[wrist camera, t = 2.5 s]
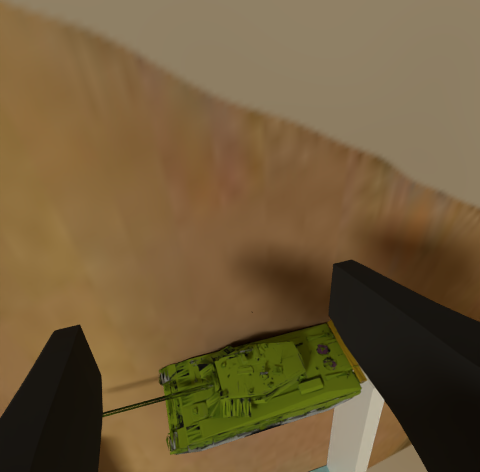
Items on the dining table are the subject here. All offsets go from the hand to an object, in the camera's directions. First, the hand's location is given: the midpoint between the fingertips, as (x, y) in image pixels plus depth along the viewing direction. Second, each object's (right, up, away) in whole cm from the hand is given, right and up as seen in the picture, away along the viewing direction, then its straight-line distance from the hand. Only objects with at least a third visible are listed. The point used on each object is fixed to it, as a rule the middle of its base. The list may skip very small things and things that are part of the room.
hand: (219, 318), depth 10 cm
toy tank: (-2, -5, +14) cm, 15 cm away
